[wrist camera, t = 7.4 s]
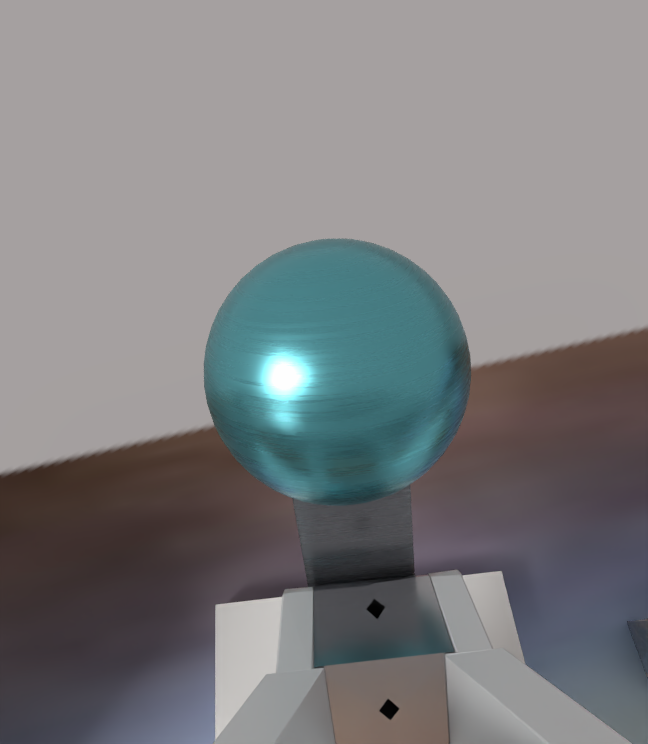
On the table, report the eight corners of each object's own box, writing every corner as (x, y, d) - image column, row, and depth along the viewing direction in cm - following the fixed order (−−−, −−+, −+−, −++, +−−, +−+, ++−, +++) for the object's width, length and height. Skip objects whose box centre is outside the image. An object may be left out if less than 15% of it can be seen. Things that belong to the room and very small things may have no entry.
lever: (300, 984, 13) (53, 310, 5) (300, 797, 16) (159, 241, 9) (514, 960, 13) (607, 241, 5) (466, 778, 16) (476, 201, 8)
